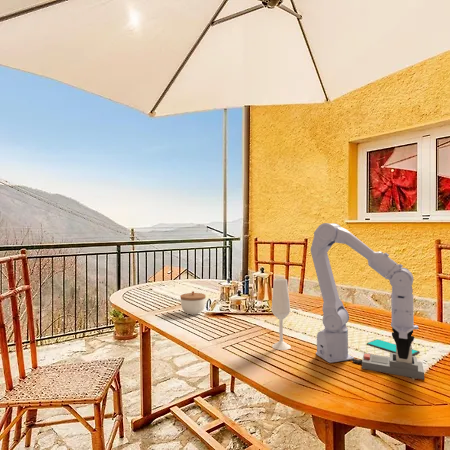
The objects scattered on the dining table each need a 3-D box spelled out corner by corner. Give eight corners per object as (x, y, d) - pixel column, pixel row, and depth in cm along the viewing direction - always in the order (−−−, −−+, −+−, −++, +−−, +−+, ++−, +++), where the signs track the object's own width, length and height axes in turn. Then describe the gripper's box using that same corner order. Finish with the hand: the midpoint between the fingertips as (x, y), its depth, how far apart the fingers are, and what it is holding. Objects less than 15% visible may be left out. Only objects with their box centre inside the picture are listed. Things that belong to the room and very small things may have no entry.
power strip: (351, 366, 98) (351, 355, 98) (354, 357, 105) (354, 346, 105) (424, 379, 89) (424, 367, 89) (422, 368, 96) (421, 357, 96)
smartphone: (409, 356, 104) (366, 343, 117) (409, 358, 104) (366, 345, 117) (420, 351, 109) (377, 339, 121) (420, 353, 109) (377, 341, 121)
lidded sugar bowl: (207, 310, 167) (207, 289, 168) (203, 317, 155) (203, 294, 155) (183, 310, 169) (183, 289, 169) (177, 316, 156) (177, 293, 156)
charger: (396, 362, 94) (396, 345, 94) (396, 357, 98) (396, 340, 98) (412, 365, 92) (411, 347, 92) (411, 360, 96) (411, 342, 96)
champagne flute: (270, 343, 119) (270, 278, 119) (289, 343, 119) (288, 278, 119) (273, 350, 112) (272, 281, 112) (292, 350, 112) (291, 281, 112)
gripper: (419, 317, 87) (420, 367, 87) (416, 305, 100) (417, 349, 100) (390, 314, 90) (391, 362, 90) (390, 303, 103) (391, 345, 103)
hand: (403, 355), depth 95 cm, fingers closed on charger, 4 cm apart
